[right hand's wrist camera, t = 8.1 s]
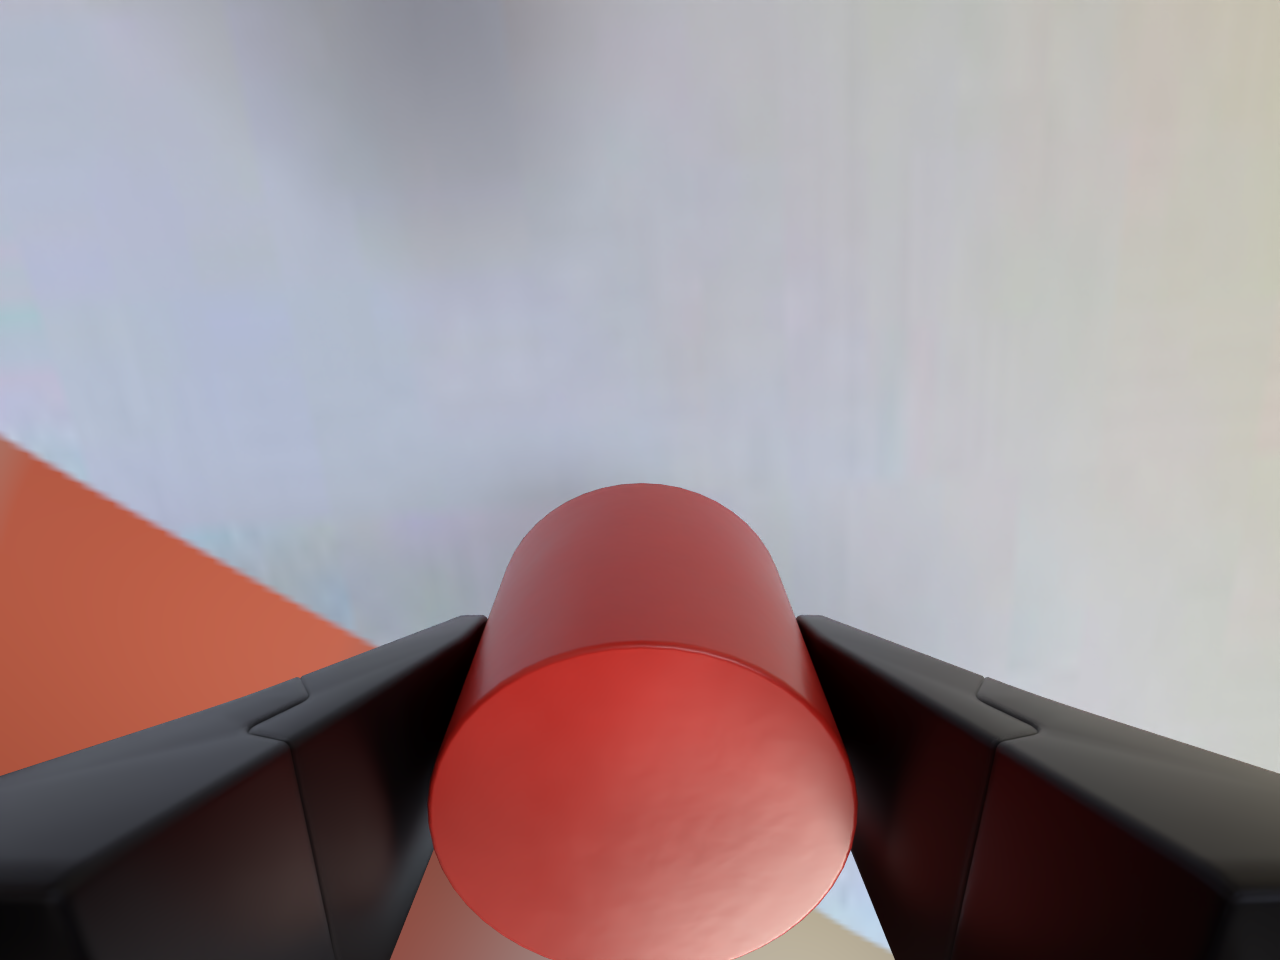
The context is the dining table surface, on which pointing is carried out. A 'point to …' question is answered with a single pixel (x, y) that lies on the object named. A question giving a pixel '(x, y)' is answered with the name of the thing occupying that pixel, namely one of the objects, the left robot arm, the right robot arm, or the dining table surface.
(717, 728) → the cylinder
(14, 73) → the dining table surface
